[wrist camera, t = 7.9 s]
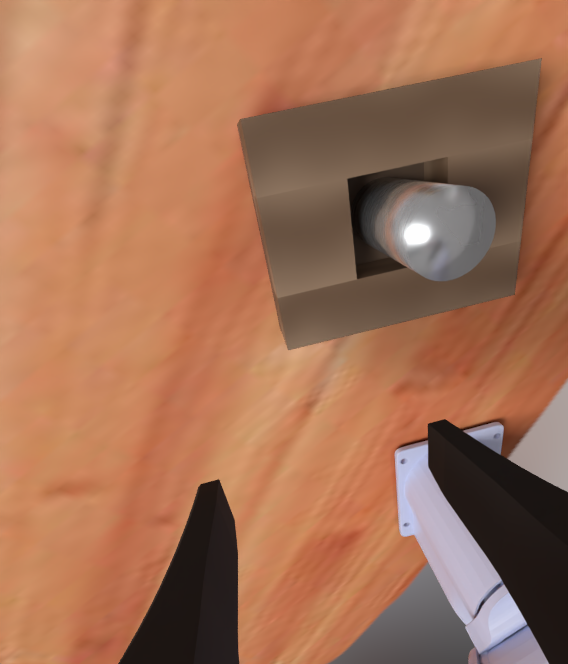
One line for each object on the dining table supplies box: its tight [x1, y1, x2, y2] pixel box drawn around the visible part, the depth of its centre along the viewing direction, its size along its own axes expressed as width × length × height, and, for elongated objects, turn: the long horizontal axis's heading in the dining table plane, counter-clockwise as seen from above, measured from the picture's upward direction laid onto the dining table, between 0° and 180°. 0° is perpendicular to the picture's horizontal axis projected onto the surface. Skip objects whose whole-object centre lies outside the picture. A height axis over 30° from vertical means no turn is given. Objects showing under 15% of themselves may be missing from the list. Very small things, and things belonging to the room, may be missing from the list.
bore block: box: [237, 58, 542, 350], centre depth 17 cm, size 10×12×2 cm
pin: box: [351, 177, 496, 281], centre depth 15 cm, size 3×3×6 cm
